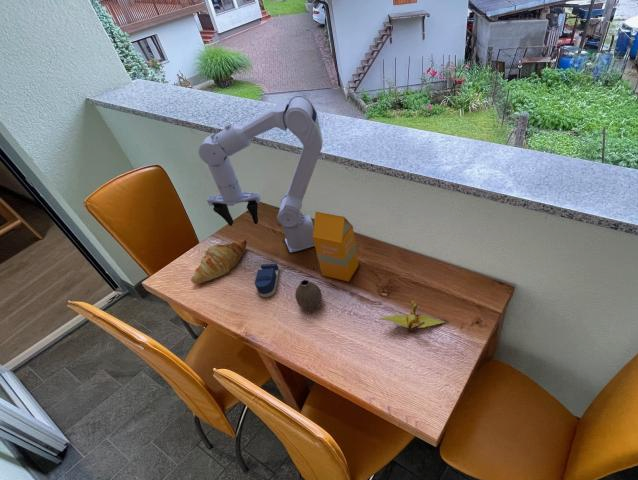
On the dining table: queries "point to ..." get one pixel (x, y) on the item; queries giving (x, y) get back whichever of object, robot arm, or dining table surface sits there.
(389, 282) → the dining table surface
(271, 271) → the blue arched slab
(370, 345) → the dining table surface
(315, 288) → the vase
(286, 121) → the robot arm
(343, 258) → the orange juice
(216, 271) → the croissant
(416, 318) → the origami crane
